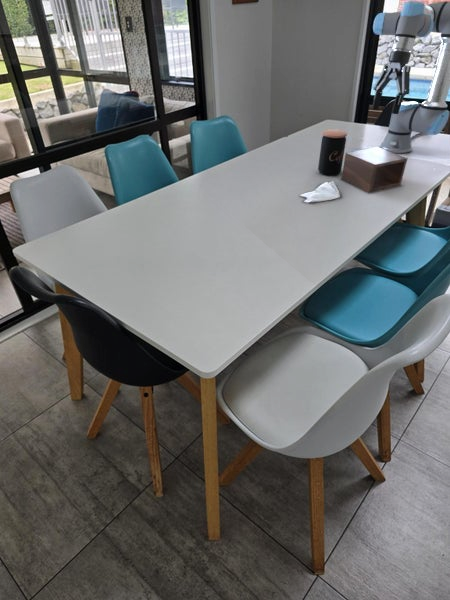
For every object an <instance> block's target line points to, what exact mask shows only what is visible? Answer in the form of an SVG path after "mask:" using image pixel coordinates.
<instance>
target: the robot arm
mask: <svg viewBox="0 0 450 600" xmlns="http://www.w3.org/2000/svg"><path fill="white" fill-rule="evenodd" d="M372 30H373V33H374V34H375V35H379V36H394V40H393V43H392V46H391V51H390V53H389V57H388V59H387V60H388V62H389V64H384V65H383V68H382V71H381V72H380V74H379V76H378V78H377V80H376V82H375V84H374V86H373V88H372V90H374V92H375V93H374V97H373V103H372V105H371V110H374V111H379V108H380V104H381V102H382V97H383V92H384V89H385V88H386V87H387V86H388V85H389V83H390V81H392V80H395V83H396V88H397V94H396V95H395V99H394V102H393V106H392V109H391V113H390V114H391V116H390V120H389V124H388V128H387V129H388V130H387V133H386V135H385V138H384V139H383V141H382V143H381V145H380V148H381V149H384V150H387V151H390V152H392V153H395V154H407V153H409V152H411V151H412V139H414V138H416V137H417V136H419V135H424V134H425V135H428V136H429V135H431V136H437V135H439V134H440V133H441V132H442V131H443V129H445V127H446V124H447V123H448V120H449V118H450V111H449V110H448V109H447V108H448V104H447V102H446V101H447V97H448V95H449V91H450V1H445V0H444V1H443V0H442V1H437V2H434V3H433V2H432V3H428V4H425V3H424V2H422V1H418V0H410V1H406V2H404V3H403V6H402V9H401V11H397V12H396V11H394V12H380V13H377V14H376V16H375V18H374V20H373V25H372ZM431 33H438V34H440V37H439V39H440V40H441V42H442V43H441V46H440V50H439V54H438V57H437V60H436V64H435V67H434V71H433V74H432V79H431V82H430V85H429V89H428V92H427V96H426V100H424V101H423V102H422V103H421V106H420V103H419V102H418V101H404V98H405V96H406V95H409V94H410V84H411V83H410V77H411V76H410V75H411V68H412V67H411V66H410V65H409V66H408V64H409V63H410V60H411V56H412V53H411V52H412V51H413V49H414V47H415V42H416V40H417V39H425V38H427V37H428V36H429V35H430V34H431ZM412 132H414V133H415V134H413V135H412Z"/></svg>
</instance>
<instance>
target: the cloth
mask: <svg viewBox="0 0 450 600" xmlns="http://www.w3.org/2000/svg"><path fill="white" fill-rule="evenodd" d="M299 196H300V197H304V198H306V199H305V200H304V201H303V202H304V203H307V204H308V203H311V204H312V203H318V202H319V203H320V202H324V201H330V200H331V201H332V200H334V199H338V198H340V197H341V196H340V191H339V189H338V186H336V183H335V181H334V180H332V181H330V182H328V181H326V182H324V183H320V185H319V186H318V187H316V188H315V189H314V190H312V191H308V192H305V193H302V194H299Z"/></svg>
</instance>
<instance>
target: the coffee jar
mask: <svg viewBox="0 0 450 600" xmlns="http://www.w3.org/2000/svg"><path fill="white" fill-rule="evenodd" d="M347 135H348V132H347V131H345V130H342V129H332V128H331V129H325V130H323V131H322V137H321V144H320V151H319V157H318V158H319V160H318V166H317V170H318V172H319V174H321V175H324V176H328V177H330V176H332V177H334V176H338V175H340V173H341V172H342V169H343V163H344V157H345V149H346V144H347V138H346V137H347Z"/></svg>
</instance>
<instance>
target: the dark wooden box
mask: <svg viewBox="0 0 450 600" xmlns="http://www.w3.org/2000/svg"><path fill="white" fill-rule="evenodd" d="M407 161H408V157H405V156H403V155H401V154H399V153H392V152H390V151H387V150H384V149H381V147H379V146H375V147H370V148H363V149H358V150H352V151H346V152H345V153H344V159H343V165H342V171H341V172H342V173H341V179H340V180H341V181H343V182H345V183H348V184H350V185H351V186H354V187H355V188H357V189H359V190H362V191H364V192H366V193H367V194H370V193H375V192H379V191H384V190H387V189H391V188H396V187H400V186H402V181H403V178H404V174H405V169H406V166H407Z"/></svg>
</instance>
